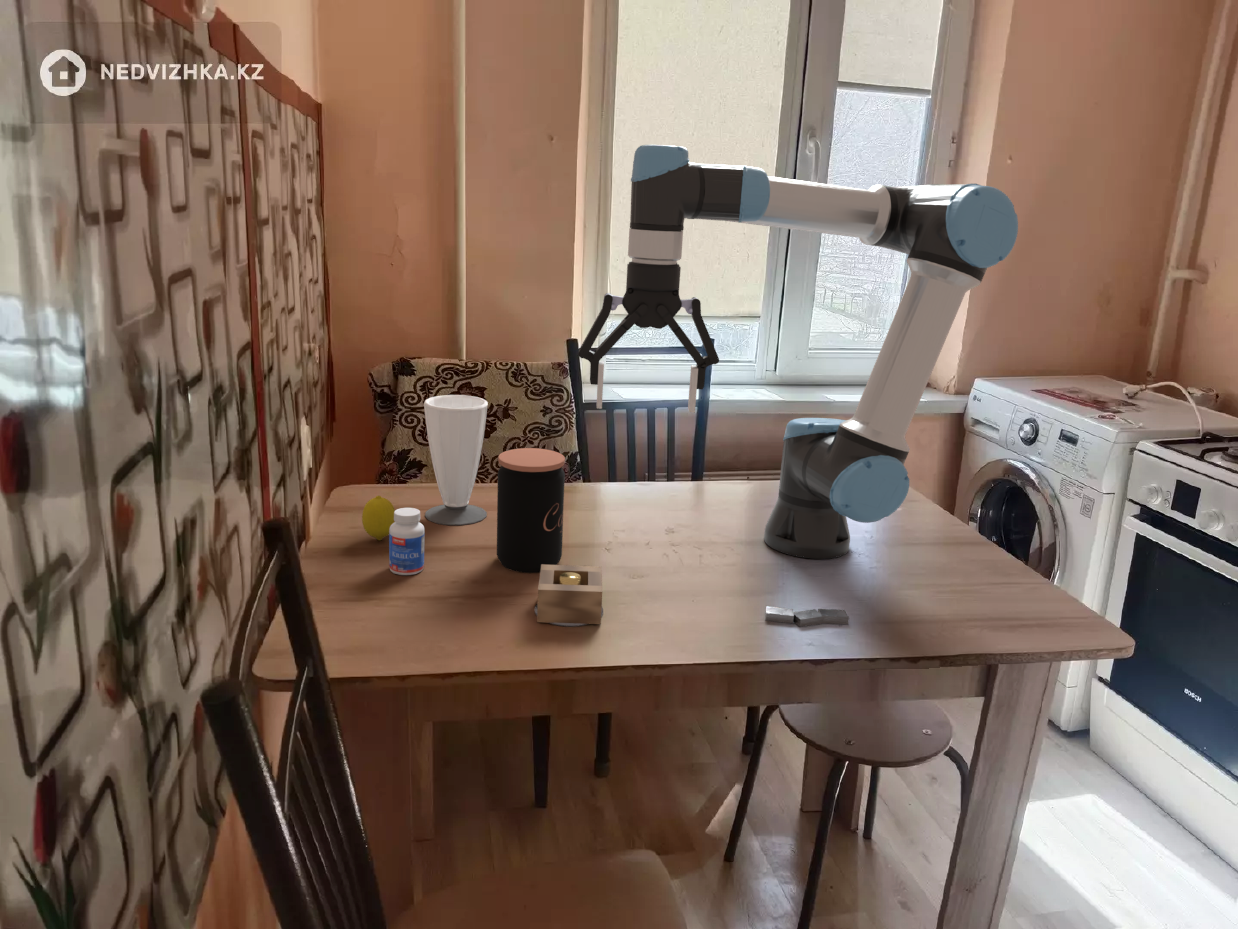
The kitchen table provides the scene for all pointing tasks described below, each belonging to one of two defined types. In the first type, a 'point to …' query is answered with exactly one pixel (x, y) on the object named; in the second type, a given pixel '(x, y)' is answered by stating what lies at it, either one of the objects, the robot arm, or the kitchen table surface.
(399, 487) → the kitchen table surface
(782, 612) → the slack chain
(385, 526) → the lemon
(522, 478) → the coffee jar
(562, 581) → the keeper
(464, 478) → the cup
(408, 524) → the pill bottle
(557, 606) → the square wooden ring block
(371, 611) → the kitchen table surface
